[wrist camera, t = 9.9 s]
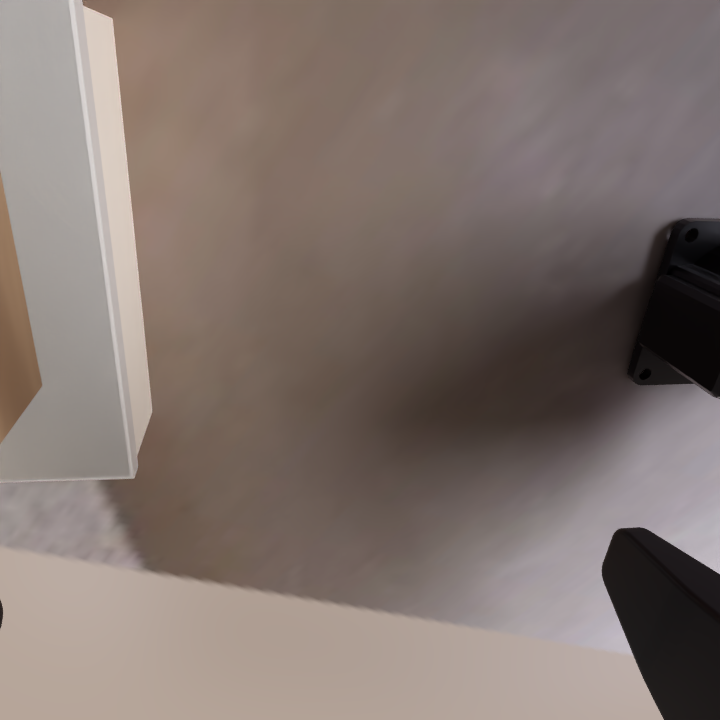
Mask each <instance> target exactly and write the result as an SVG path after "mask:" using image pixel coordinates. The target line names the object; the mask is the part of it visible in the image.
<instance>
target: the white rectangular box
mask: <svg viewBox="0 0 720 720" xmlns="http://www.w3.org/2000/svg"><path fill="white" fill-rule="evenodd" d="M0 172H1V177H2V182H3V187H4V192H5V197H6V202H7V207H8V212H9V218H10V223H11V228H12V233H13V238H14V243H15V248H16V253H17V258H18V263H19V269H20V274H21V279H22V284H23V289H24V294H25V299H26V304H27V309H28V315H29V320H30V325H31V330H32V335H33V340H34V345H35V350H36V355H37V361H38V366H39V371H40V376H41V381H42V387H41V388H40V390H39V391H38V393H37V394H36V395H35V397H34V398H33V400H32V401H31V402H30V404H29V405H28V406H27V408H26V409H25V411H24V412H23V413H22V415H21V416H20V418H19V419H18V420H17V422H16V423H15V424H14V426H13V427H12V429H11V430H10V431H9V433H8V434H7V436H6V437H5V438H4V440H3V441H2V442H1V444H0V483H13V482H45V481H77V480H108V479H134V478H135V475H136V472H137V469H138V460H137V455H138V452H139V449H140V446H141V443H142V440H143V438H144V435H145V432H146V429H147V426H148V423H149V420H150V417H151V414H152V402H151V392H150V382H149V373H148V363H147V353H146V343H145V333H144V323H143V314H142V304H141V294H140V284H139V274H138V264H137V255H136V245H135V235H134V225H133V215H132V205H131V196H130V186H129V176H128V166H127V156H126V146H125V137H124V127H123V117H122V107H121V97H120V87H119V78H118V68H117V58H116V48H115V38H114V28H113V19H112V18H110V17H108V16H106V15H103V14H101V13H99V12H96V11H94V10H92V9H89V8H87V7H85V6H83V3H82V0H0Z"/></svg>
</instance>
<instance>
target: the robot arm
mask: <svg viewBox="0 0 720 720" xmlns="http://www.w3.org/2000/svg"><path fill="white" fill-rule="evenodd" d="M690 229H691V232H690V234H689V236H688V237H687V238H686V239H685V235H686V233H687V231H688V230H690ZM644 369H645V370H644ZM642 370H644V372H643V373H641V374H640V372H641V371H642ZM627 374H628V377H629V378H630V379H631V380H632V381H634V382H635V383H636V384H637V385H664V384H696V385H697V386H699V387H700V388H701V389H703V390H704V391H706V392H707V393H708V394H710V395H711V396H713V397H716V398H719V399H720V219H699V218H687V219H683V220H681V221H680V222H678V223H677V224H676V225H675V226H674V228H673V230H672V232H671V235H670V238H669V241H668V244H667V248H666V251H665V254H664V257H663V260H662V263H661V267H660V270H659V273H658V276H657V279H656V282H655V285H654V289H653V292H652V295H651V298H650V301H649V304H648V308H647V311H646V314H645V317H644V320H643V323H642V326H641V330H640V333H639V336H638V339H637V342H636V345H635V349H634V352H633V355H632V358H631V361H630V364H629V368H628V372H627ZM639 374H640V375H639ZM602 577H603V581H604V584H605V586H606V589H607V591H608V594H609V596H610V599H611V601H612V604H613V606H614V609H615V611H616V613H617V616H618V618H619V621H620V623H621V626H622V628H623V631H624V633H625V636H626V638H627V641H628V643H629V645H630V648H631V650H632V653H633V655H634V658H635V660H636V663H637V665H638V667H639V670H640V672H641V674H642V676H643V679H644V681H645V683H646V685H647V687H648V689H649V691H650V693H651V695H652V697H653V699H654V701H655V703H656V705H657V707H658V709H659V711H660V713H661V715H662V717H663V719H664V720H720V574H718V573H717V572H715V571H713V570H712V569H710V568H709V567H707V566H705V565H704V564H702V563H701V562H699V561H697V560H696V559H694V558H692V557H691V556H689V555H688V554H686V553H684V552H683V551H681V550H680V549H678V548H676V547H675V546H673V545H672V544H670V543H668V542H667V541H665V540H663V539H662V538H660V537H659V536H657V535H655V534H654V533H652V532H651V531H649V530H647V529H645V528H640V527H638V528H621V529H618V530H617V531H616V532H615V533H614V535H613V537H612V540H611V542H610V545H609V548H608V551H607V553H606V556H605V559H604V562H603V565H602ZM2 619H3V608H2V603H1V601H0V628H1V624H2Z"/></svg>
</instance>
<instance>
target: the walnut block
mask: <svg viewBox="0 0 720 720" xmlns="http://www.w3.org/2000/svg"><path fill="white" fill-rule="evenodd" d="M41 387H42V381H41V376H40V371H39V366H38V361H37V355H36V350H35V345H34V340H33V335H32V330H31V325H30V320H29V315H28V309H27V304H26V299H25V294H24V289H23V284H22V279H21V274H20V269H19V263H18V258H17V253H16V248H15V243H14V238H13V233H12V228H11V223H10V218H9V212H8V207H7V202H6V197H5V192H4V187H3V182H2V177H1V172H0V444H1V442H2V441H3V440H4V438H5V437H6V436H7V434H8V433H9V431H10V430H11V429H12V427H13V426H14V424H15V423H16V422H17V420H18V419H19V418H20V416H21V415H22V413H23V412H24V411H25V409H26V408H27V406H28V405H29V404H30V402H31V401H32V400H33V398H34V397H35V395H36V394H37V393H38V391H39V390H40V388H41Z"/></svg>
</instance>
